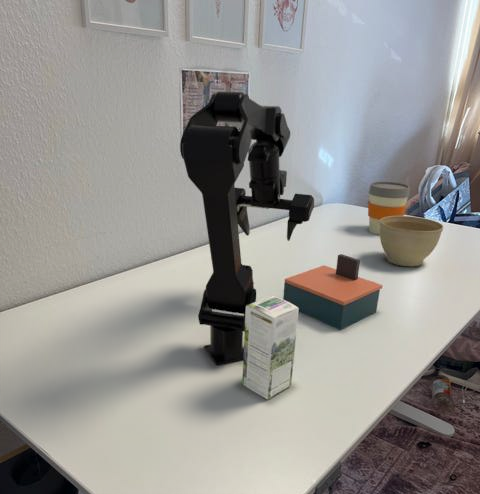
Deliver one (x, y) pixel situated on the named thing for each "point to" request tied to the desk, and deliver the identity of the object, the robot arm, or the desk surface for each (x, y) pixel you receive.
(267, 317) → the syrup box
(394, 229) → the planter bowl
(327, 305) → the box
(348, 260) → the lid
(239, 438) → the desk surface
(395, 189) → the reusable coffee cup
